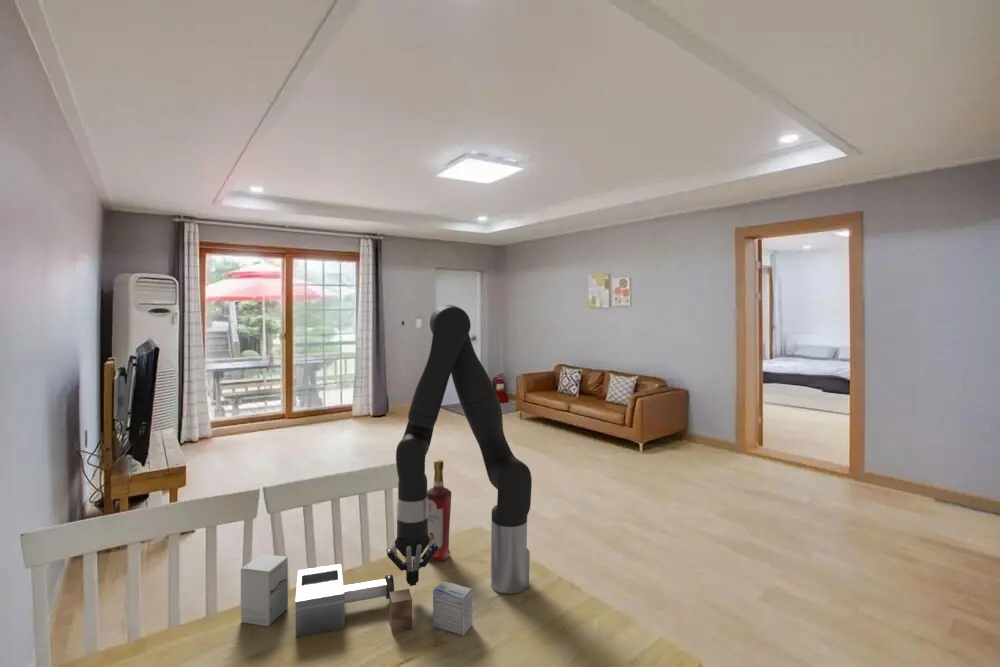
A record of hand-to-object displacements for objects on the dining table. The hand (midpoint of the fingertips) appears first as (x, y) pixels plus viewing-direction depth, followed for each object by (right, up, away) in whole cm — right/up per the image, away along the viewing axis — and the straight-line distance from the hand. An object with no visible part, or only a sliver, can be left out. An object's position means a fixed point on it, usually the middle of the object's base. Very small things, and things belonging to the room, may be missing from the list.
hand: (412, 584), depth 125 cm
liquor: (+4, -3, +21) cm, 21 cm away
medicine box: (+11, -5, -11) cm, 16 cm away
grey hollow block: (-20, -4, -7) cm, 22 cm away
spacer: (-1, -4, -11) cm, 11 cm away
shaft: (-11, -2, -4) cm, 12 cm away
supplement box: (-33, -4, -7) cm, 34 cm away
